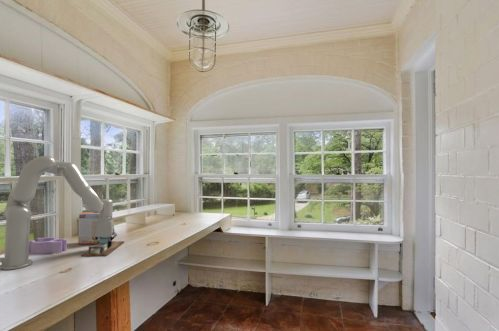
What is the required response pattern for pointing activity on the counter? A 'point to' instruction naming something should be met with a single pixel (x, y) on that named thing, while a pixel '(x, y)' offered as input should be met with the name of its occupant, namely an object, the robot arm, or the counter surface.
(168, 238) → the counter surface
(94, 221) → the cracker box
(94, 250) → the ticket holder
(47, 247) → the purple piece
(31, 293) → the counter surface
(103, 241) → the stub
